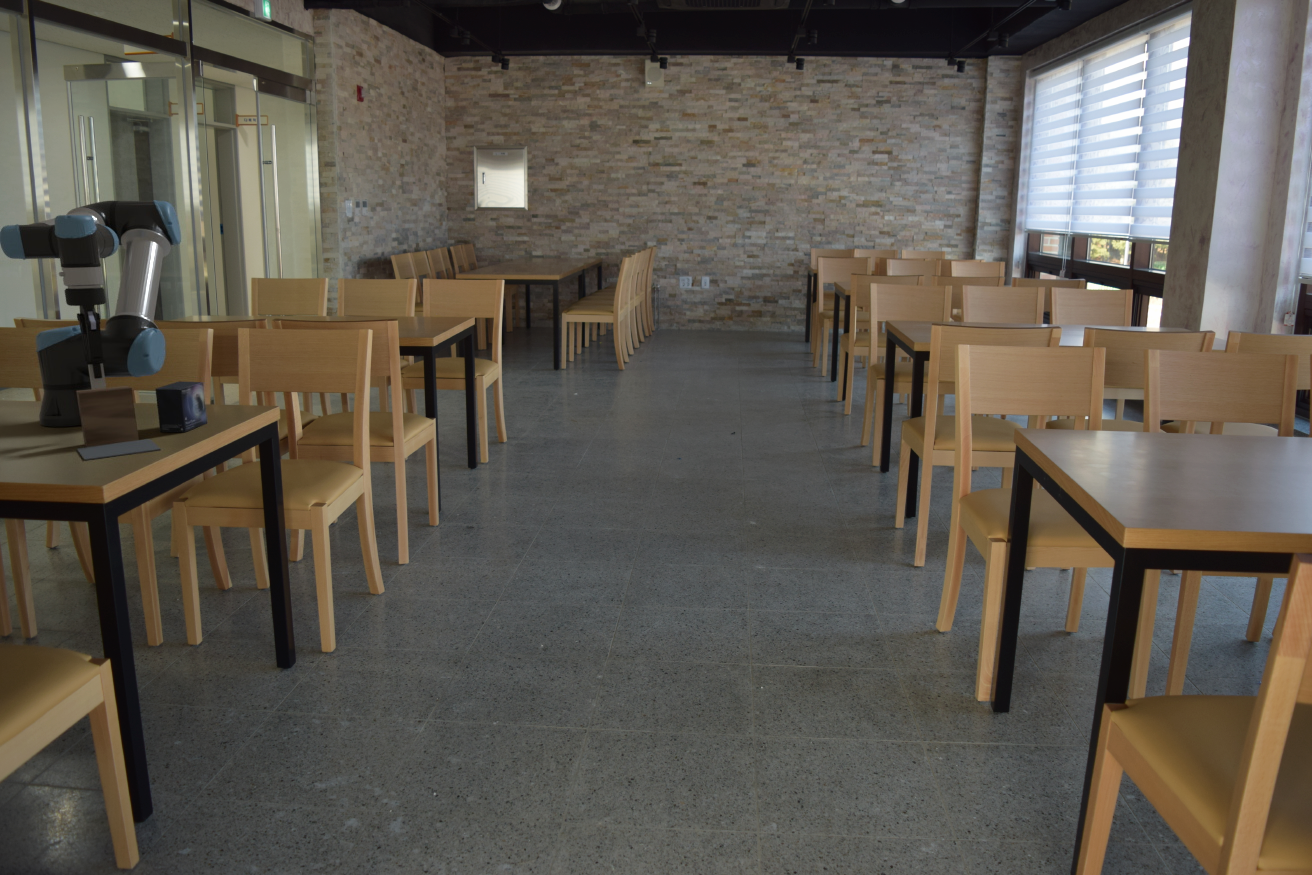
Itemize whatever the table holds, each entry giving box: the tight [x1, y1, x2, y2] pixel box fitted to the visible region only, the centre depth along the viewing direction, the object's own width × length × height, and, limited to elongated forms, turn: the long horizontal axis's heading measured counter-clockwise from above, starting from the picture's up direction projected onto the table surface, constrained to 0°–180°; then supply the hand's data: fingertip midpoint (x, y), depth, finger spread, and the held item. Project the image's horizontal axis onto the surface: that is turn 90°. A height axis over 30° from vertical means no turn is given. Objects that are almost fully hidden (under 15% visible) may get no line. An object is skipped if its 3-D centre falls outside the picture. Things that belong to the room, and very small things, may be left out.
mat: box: [76, 438, 161, 462], centre depth 195 cm, size 12×14×1 cm
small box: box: [154, 380, 208, 433], centre depth 215 cm, size 11×6×10 cm, turn 179°
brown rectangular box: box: [76, 385, 140, 447], centre depth 200 cm, size 4×10×12 cm, turn 128°
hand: (99, 392), depth 205 cm, fingers closed
